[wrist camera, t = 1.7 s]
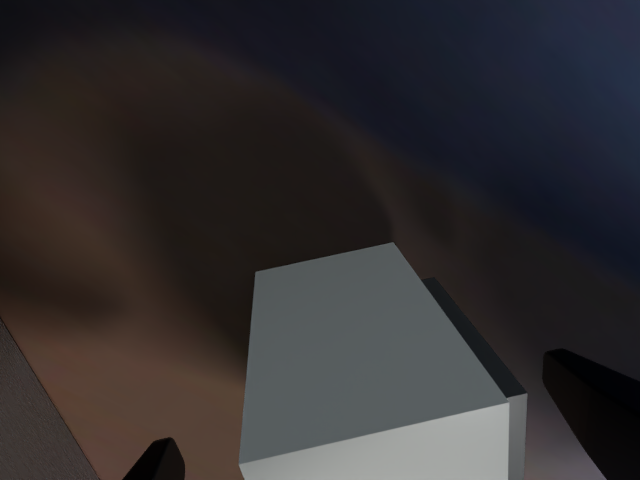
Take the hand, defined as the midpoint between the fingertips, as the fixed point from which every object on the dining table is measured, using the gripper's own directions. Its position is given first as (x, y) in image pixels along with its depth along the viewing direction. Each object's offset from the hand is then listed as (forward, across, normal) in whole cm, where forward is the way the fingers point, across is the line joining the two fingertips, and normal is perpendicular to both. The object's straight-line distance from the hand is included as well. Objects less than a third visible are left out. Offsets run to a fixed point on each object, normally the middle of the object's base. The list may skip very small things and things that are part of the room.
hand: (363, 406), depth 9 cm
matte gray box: (+3, 0, 0) cm, 3 cm away
